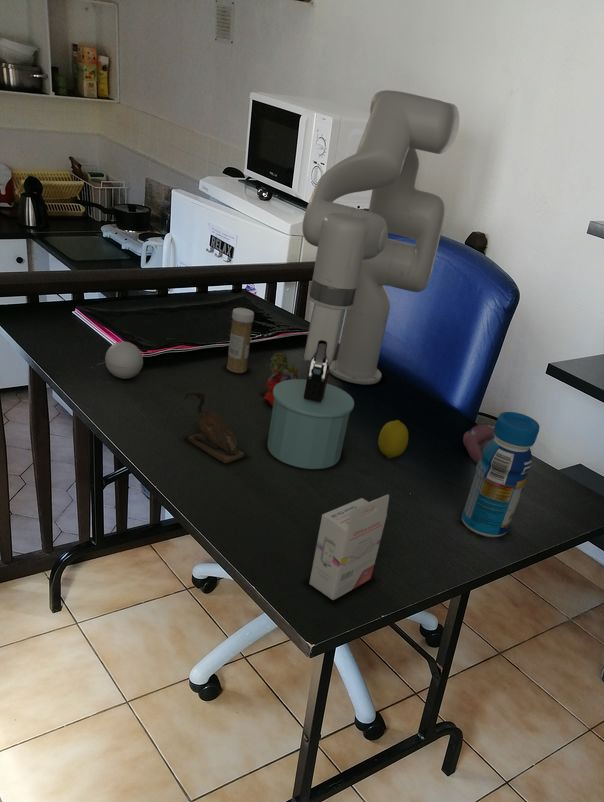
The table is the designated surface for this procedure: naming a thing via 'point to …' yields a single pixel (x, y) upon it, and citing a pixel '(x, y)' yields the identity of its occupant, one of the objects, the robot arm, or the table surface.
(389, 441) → the lemon
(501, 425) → the beverage bottle
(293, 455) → the pot
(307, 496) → the table surface
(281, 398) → the lid
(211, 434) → the figurine
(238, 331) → the sprinkles bottle
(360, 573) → the ink cartridge box
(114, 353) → the white sphere
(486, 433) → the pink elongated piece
